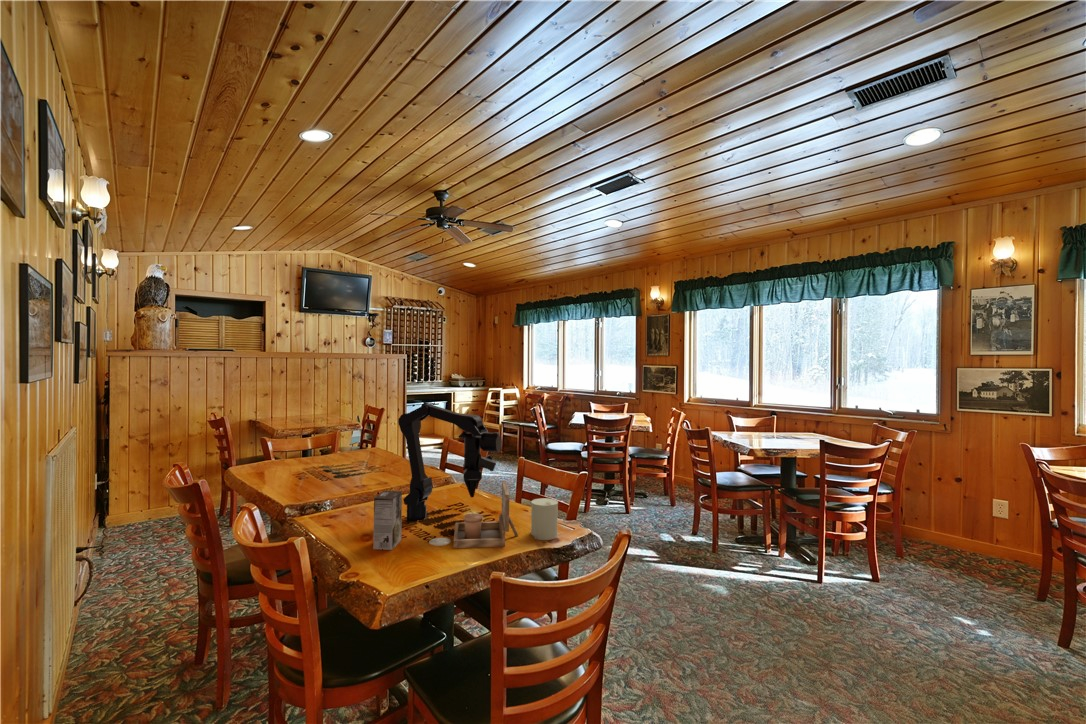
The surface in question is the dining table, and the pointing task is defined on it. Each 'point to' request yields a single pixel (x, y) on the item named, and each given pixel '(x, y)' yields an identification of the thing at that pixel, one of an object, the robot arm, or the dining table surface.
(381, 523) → the coffee box
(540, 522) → the can
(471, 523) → the terracotta pot
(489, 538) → the open wooden box
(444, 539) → the saucer
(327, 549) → the dining table surface
